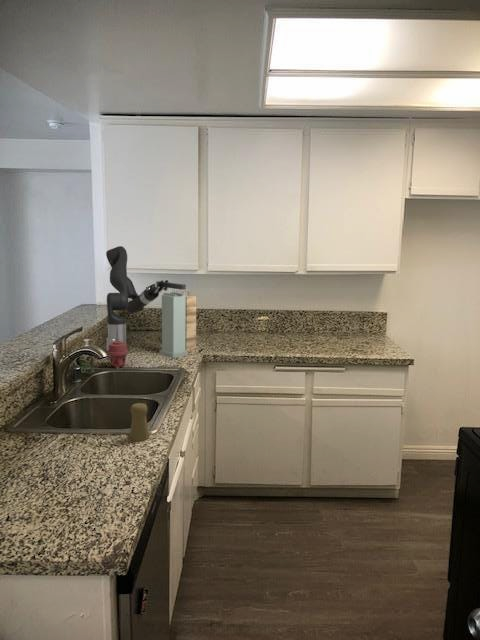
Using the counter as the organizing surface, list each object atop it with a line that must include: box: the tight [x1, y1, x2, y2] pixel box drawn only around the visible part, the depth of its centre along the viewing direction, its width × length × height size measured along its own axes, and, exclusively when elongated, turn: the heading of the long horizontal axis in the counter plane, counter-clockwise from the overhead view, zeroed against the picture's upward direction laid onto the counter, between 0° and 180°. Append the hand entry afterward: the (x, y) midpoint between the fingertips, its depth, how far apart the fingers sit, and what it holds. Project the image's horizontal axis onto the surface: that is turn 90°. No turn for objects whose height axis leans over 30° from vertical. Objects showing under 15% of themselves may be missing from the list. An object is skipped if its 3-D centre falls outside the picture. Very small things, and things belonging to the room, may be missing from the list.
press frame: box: [158, 291, 189, 359], centre depth 257 cm, size 12×10×33 cm
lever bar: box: [155, 280, 187, 290], centre depth 256 cm, size 22×2×2 cm, turn 46°
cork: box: [129, 402, 150, 443], centre depth 151 cm, size 6×6×11 cm
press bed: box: [184, 294, 197, 351], centre depth 273 cm, size 10×7×30 cm
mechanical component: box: [106, 341, 129, 369], centre depth 232 cm, size 12×10×10 cm
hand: (165, 281), depth 259 cm, fingers closed on lever bar, 2 cm apart
